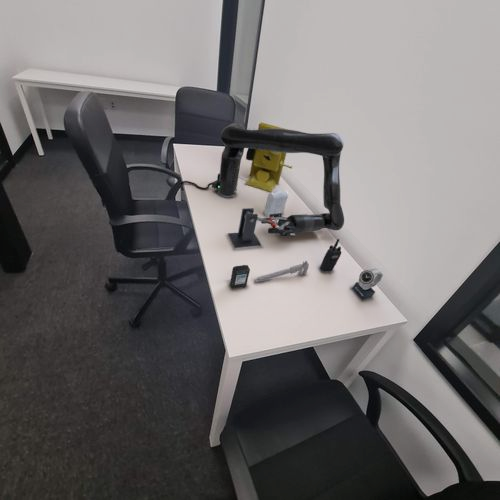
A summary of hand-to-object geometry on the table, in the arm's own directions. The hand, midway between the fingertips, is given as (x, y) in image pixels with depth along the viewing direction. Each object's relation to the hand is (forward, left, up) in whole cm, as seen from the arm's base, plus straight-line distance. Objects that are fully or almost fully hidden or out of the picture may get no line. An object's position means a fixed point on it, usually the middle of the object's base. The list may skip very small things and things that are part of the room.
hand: (265, 225), depth 104 cm
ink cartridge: (+6, -28, -7) cm, 30 cm away
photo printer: (-5, +23, -7) cm, 25 cm away
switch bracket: (-5, -6, -7) cm, 10 cm away
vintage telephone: (-26, +48, -7) cm, 55 cm away
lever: (-2, -2, +2) cm, 4 cm away
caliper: (+16, -15, -7) cm, 23 cm away
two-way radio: (+28, +1, -7) cm, 29 cm away
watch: (+43, -3, -7) cm, 43 cm away
